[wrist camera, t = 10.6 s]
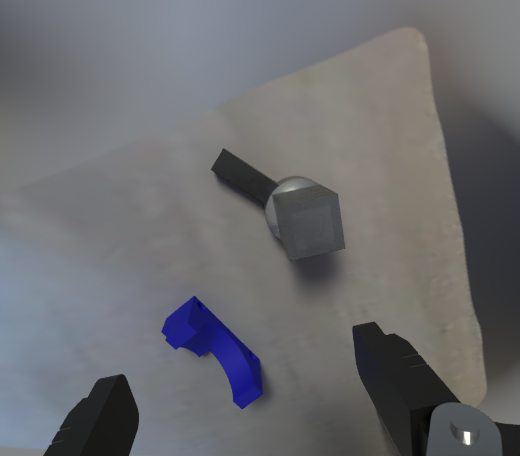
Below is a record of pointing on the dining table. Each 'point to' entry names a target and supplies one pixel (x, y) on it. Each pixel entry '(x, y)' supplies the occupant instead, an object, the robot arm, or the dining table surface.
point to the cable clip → (216, 348)
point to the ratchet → (257, 183)
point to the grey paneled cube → (309, 221)
